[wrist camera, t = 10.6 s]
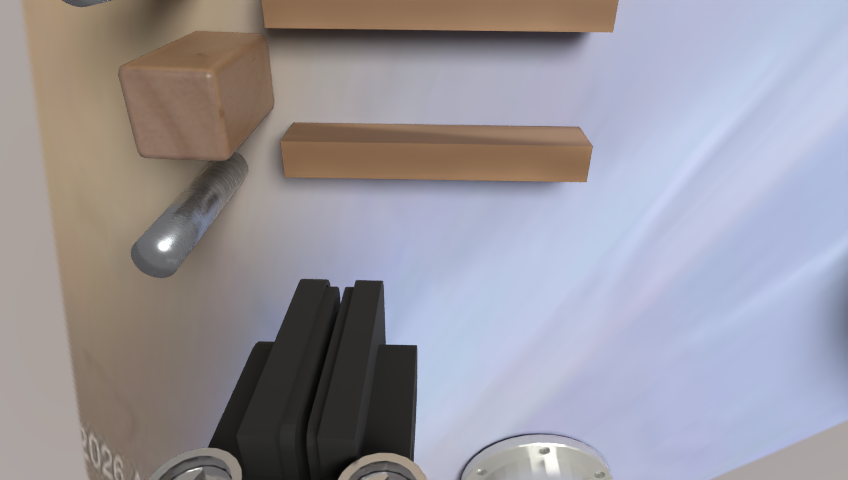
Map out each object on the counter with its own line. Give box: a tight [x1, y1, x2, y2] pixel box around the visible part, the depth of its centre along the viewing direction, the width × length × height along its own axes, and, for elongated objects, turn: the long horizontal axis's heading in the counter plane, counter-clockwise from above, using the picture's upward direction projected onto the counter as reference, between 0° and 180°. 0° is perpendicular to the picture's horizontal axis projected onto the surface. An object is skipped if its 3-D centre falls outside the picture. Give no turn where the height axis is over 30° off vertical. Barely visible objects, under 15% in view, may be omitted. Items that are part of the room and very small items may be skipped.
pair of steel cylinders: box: [62, 0, 248, 278], centre depth 25 cm, size 13×2×10 cm, turn 179°
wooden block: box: [118, 31, 274, 161], centre depth 26 cm, size 4×4×8 cm
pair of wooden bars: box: [261, 0, 619, 182], centre depth 28 cm, size 10×16×3 cm, turn 89°
